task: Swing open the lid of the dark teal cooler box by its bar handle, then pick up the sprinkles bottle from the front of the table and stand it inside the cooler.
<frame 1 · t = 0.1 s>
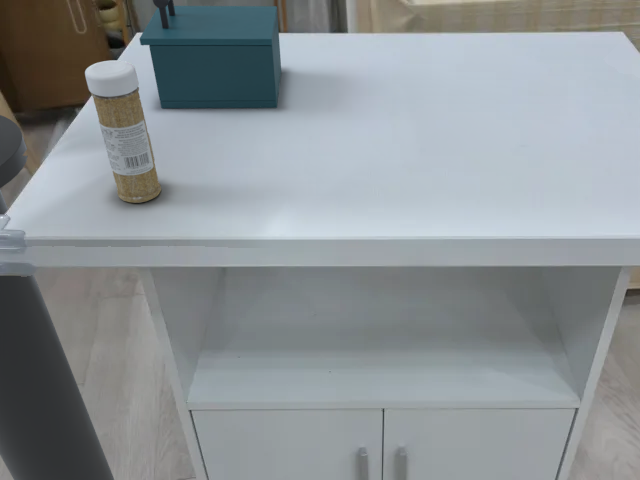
cooler: (224, 88, 93), on the table
cooler lid: (210, 7, 86), point 11 cm above the table, hinge at 0.0°
sprinkles bottle: (140, 195, 72), on the table
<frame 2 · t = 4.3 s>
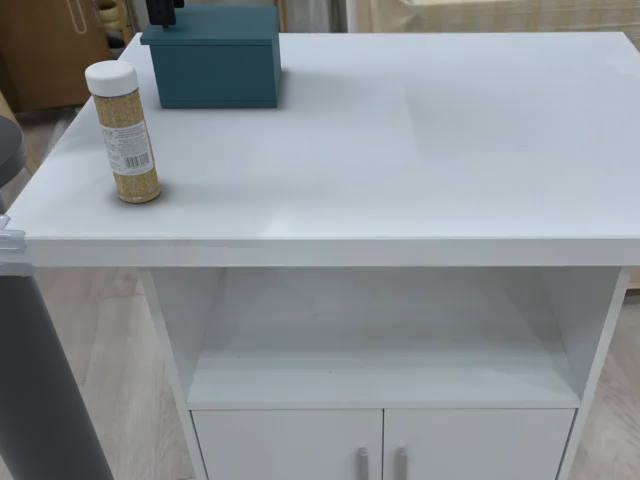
hand: (167, 14, 86), 10 cm above the table, tool pointing down, fingers closed on cooler lid, 6 cm apart
cooler lid: (210, 7, 86), point 11 cm above the table, hinge at 0.0°, touching gripper
everything else where it was.
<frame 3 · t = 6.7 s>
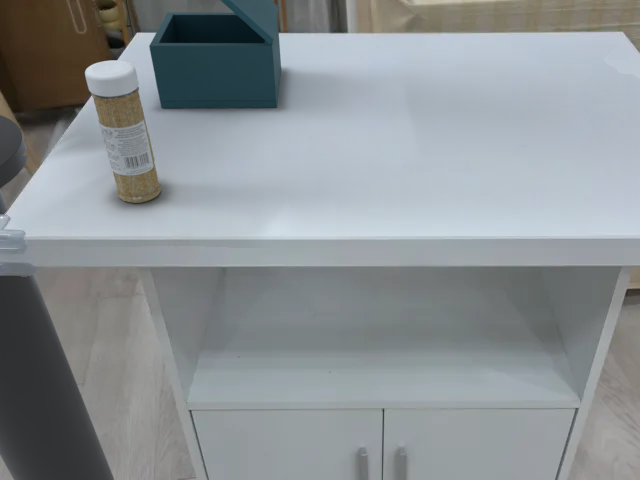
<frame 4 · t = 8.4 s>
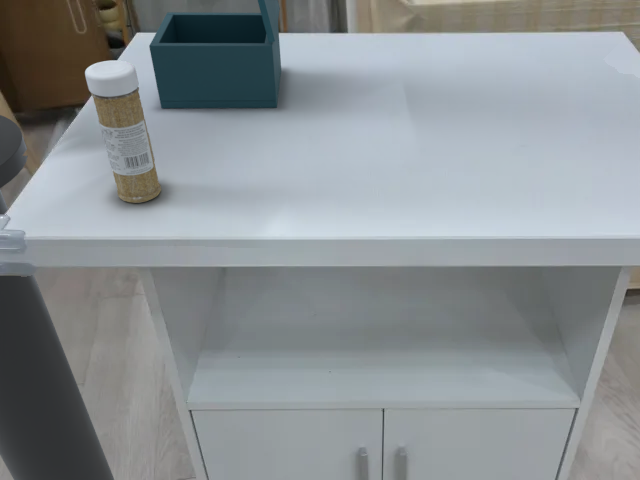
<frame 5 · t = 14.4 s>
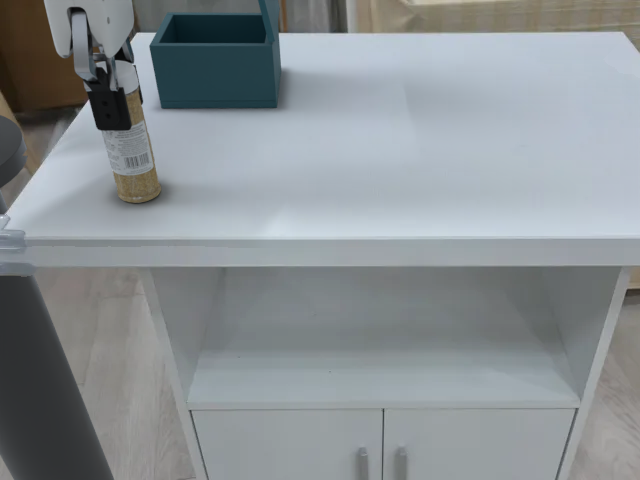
hand: (120, 115, 66), 9 cm above the table, tool pointing down, fingers closed on sprinkles bottle, 4 cm apart
sprinkles bottle: (140, 195, 72), on the table, touching gripper
when the fingers open (10 cm above the table, at t = 22.7 s): sprinkles bottle stays where it is, resting on cooler.
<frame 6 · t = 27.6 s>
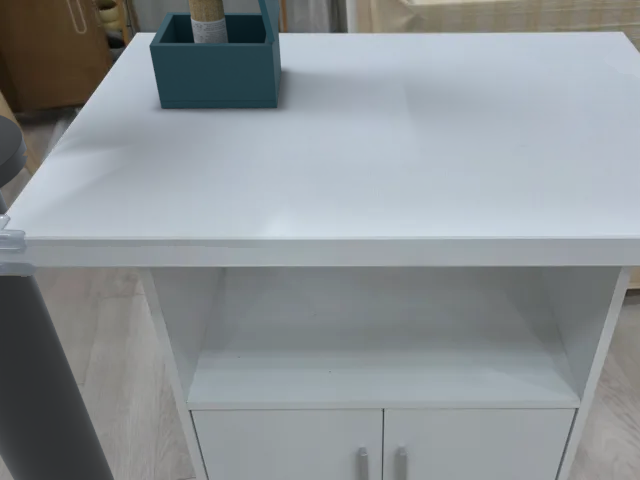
sprinkles bottle: (216, 82, 92), point 1 cm above the table, touching cooler
at the end: cooler lid at +80° (first picture: +0°); sprinkles bottle inside the target area in the cooler (1.0 cm from its centre), point 0.8 cm above the cooler's base; sprinkles bottle tilted 0° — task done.
